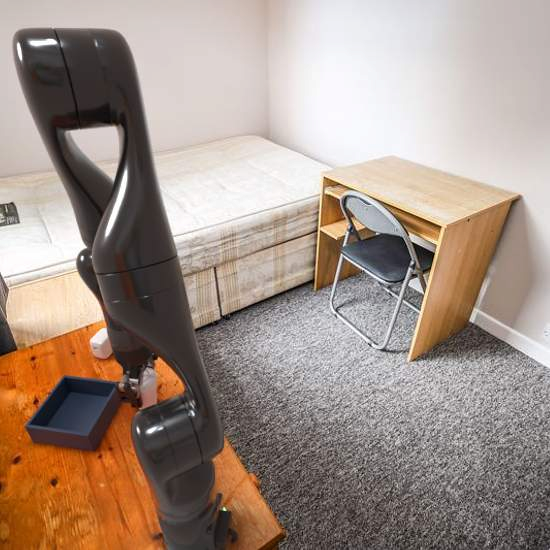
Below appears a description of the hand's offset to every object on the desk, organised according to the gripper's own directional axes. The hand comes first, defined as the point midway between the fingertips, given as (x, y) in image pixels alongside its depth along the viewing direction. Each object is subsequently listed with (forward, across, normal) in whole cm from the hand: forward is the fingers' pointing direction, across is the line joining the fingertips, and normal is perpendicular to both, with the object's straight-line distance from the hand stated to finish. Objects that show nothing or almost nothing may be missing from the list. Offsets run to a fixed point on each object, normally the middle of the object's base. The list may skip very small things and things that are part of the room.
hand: (144, 392), depth 83 cm
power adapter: (+5, +17, +17) cm, 25 cm away
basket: (+5, -5, +13) cm, 15 cm away
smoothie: (+5, 0, 0) cm, 5 cm away
